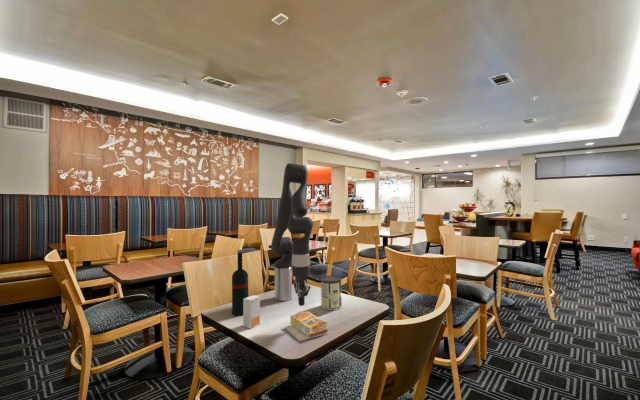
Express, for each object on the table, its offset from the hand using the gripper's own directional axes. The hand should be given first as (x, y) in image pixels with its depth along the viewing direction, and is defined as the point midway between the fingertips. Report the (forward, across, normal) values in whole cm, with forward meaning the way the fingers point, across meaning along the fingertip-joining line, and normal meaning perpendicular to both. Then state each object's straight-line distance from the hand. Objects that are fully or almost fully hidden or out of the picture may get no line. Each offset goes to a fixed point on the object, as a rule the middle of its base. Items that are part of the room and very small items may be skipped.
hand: (301, 305), depth 128 cm
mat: (+9, -4, 0) cm, 10 cm away
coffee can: (+9, +14, -23) cm, 28 cm away
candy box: (+7, +4, 0) cm, 7 cm away
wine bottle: (+9, +30, +18) cm, 36 cm away
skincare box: (+9, +12, +18) cm, 24 cm away
